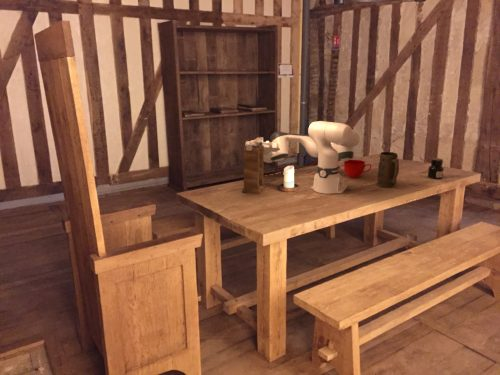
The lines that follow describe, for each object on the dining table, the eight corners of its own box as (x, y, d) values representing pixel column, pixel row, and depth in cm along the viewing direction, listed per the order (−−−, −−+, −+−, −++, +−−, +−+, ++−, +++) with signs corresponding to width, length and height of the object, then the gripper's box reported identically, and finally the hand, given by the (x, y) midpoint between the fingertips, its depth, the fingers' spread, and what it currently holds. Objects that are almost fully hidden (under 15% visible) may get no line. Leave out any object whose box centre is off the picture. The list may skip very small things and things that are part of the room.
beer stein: (371, 184, 265) (376, 151, 258) (385, 181, 270) (389, 150, 263) (390, 192, 252) (395, 158, 246) (403, 189, 257) (409, 156, 250)
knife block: (248, 186, 258) (248, 141, 251) (264, 187, 256) (265, 141, 248) (242, 192, 246) (242, 144, 239) (259, 193, 243) (259, 145, 236)
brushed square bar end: (258, 142, 259) (258, 137, 258) (263, 142, 258) (263, 137, 257) (246, 150, 235) (246, 144, 234) (251, 150, 234) (251, 144, 233)
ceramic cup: (370, 180, 274) (372, 164, 271) (343, 178, 277) (344, 163, 274) (369, 175, 286) (370, 160, 283) (343, 174, 289) (344, 159, 286)
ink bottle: (440, 180, 275) (442, 161, 272) (425, 178, 280) (427, 159, 277) (444, 177, 283) (446, 158, 279) (430, 175, 288) (432, 157, 284)
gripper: (280, 155, 267) (276, 147, 254) (247, 153, 272) (242, 145, 259) (281, 145, 269) (277, 137, 256) (249, 144, 274) (243, 135, 261)
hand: (259, 141), depth 257 cm, fingers open, 8 cm apart
